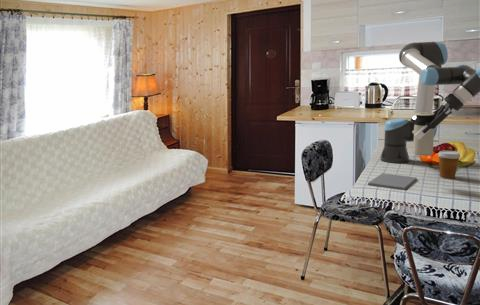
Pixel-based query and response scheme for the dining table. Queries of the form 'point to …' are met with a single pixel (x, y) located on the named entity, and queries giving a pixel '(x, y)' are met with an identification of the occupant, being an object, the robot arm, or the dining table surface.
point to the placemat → (392, 181)
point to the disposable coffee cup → (448, 163)
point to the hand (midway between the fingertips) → (415, 135)
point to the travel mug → (426, 142)
